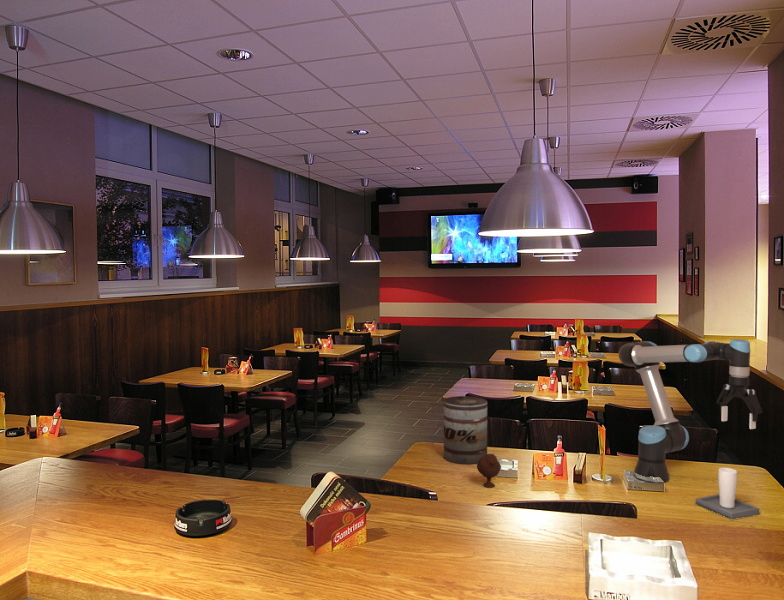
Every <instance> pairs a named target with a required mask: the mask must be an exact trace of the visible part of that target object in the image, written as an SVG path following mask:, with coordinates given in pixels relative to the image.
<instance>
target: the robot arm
mask: <svg viewBox="0 0 784 600" xmlns="http://www.w3.org/2000/svg"><path fill="white" fill-rule="evenodd" d="M618 358H619V361H620V362H621V363H622V364H623V365H624V366H628V367H634V369H635V371H636V372H637V373H638V374H640V378H641V380H642V381H641V382H642V384H643V386H644V390H645V393H646V396H647V399H648V402H649V406H650V409H651V411H652V414H653V419H654V424H653V425H646V426H643V427H641V428H640V429H639V430H638V437H637V438H638V455H637V456H638V459H637V462H636V465H635V468H634V470H633V473H634V472H635V473H637V474H639V475H642V476H645V477H650V476H653V477H660V478H661V479H662V480H663V481H664V483H667V482H669V481H670V473H669V471H668V468H667V465H666V454H668V453H674V452H679V451H681V450H684V449H685V448H686V447H687V445H688V444H689V441H690V436H689V431H688V430H687V429H686V427H684V426H682V425H681V423H680V420H679V419H677V418H676V417H675V416H674V414H673V410H672V407H671V405H670V402H669V399H668V395H667V392H666V389H665V385H664V383H663V380H662V376H661V374H660V371H659V368H660V366H661V364H660V363H685V362H686V363H687V362H689V363H701V362H706V361H714V360H715V361H716V360H721V361H727V362H728V361H729V371H728V374H729V376H728V378H729V379H728V383H726V384H723V385H722V390H721V392H720V393H719V396H718V398H717V400H716V404H717V405H719V407H720V410H719V412H720V415H721V419H720V420H721V422H727V421H728V415H729V414H728V413H729V412H728V410H729V409H728V408H729V407H728V406H727V404H729V402H731V400H732V399H733V398H738V399H742V401H743V402H744V403H745V404H746V406H747V408H748V409H749V411H750V413H749V424H748V425H749V428H748V429H750V430H754V429H755V430H756V428H757V424H756V423H757V422H758V414H763V410H762V407H761V405H760V402H759V400H758V399H759V398H758V397H757V392H756V389H749V386H750V377H749V376H750V372H751V371H750V370H751V368H750V367H751V366H750V364H751V363H750V361H751V342H750V341H749V340H746V339H731V340H730V341H729V343H728V342H720V341H713V340H712V341H709V340H708V341H705V342H704V343H699V344H698V343H697V344H695V343H694V344H693V343H691V344H676V345H672V344H671V345H657V344H656V343H654V342H652V341H645V340H643V341H636V342H627V343H625V344H623V345H622V346H621V347H620V348H619V350H618ZM729 391H730V392H729Z"/></svg>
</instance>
